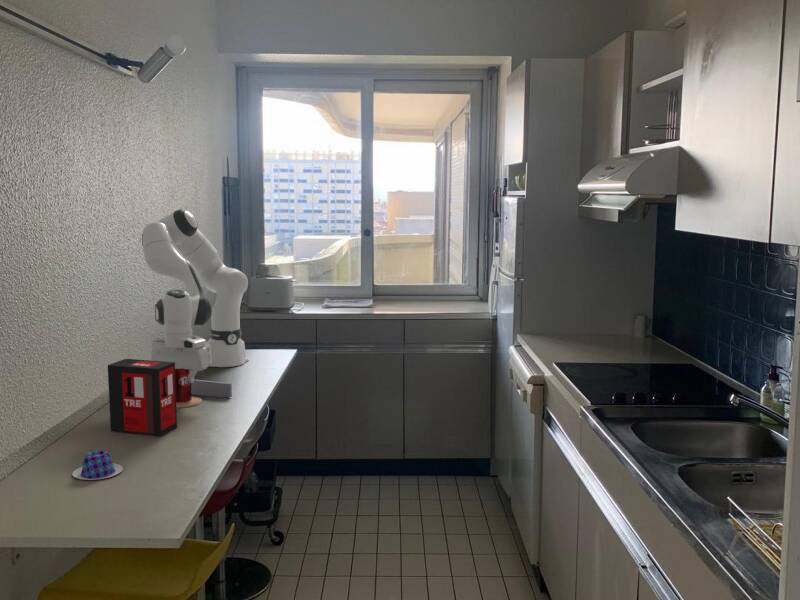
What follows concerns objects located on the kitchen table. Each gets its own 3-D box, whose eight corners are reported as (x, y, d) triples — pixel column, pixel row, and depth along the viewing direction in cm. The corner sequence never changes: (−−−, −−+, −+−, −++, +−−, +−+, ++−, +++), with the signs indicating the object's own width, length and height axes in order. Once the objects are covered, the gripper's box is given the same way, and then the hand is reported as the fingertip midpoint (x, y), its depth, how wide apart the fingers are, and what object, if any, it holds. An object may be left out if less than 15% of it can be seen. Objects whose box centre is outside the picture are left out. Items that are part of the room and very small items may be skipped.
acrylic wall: (170, 391, 282) (169, 377, 282) (172, 390, 283) (171, 377, 282) (230, 398, 274) (229, 383, 273) (231, 397, 275) (231, 383, 274)
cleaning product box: (110, 431, 237) (107, 365, 234) (128, 423, 246) (125, 358, 243) (160, 436, 233) (158, 369, 230) (177, 427, 241) (174, 362, 238)
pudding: (106, 462, 213) (105, 443, 212) (132, 472, 205) (131, 452, 204) (63, 474, 204) (62, 454, 203) (88, 486, 196) (87, 465, 195)
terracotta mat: (155, 401, 270) (155, 400, 270) (193, 395, 278) (193, 394, 278) (169, 410, 260) (169, 409, 260) (208, 403, 267) (208, 402, 267)
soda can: (194, 398, 272) (193, 363, 270) (187, 404, 265) (186, 368, 263) (173, 398, 272) (172, 363, 271) (166, 404, 265) (164, 368, 263)
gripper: (146, 339, 266) (147, 380, 268) (199, 344, 259) (200, 386, 261) (158, 335, 272) (159, 376, 274) (210, 340, 265) (211, 381, 267)
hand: (179, 381), depth 267 cm, fingers closed on soda can, 7 cm apart
